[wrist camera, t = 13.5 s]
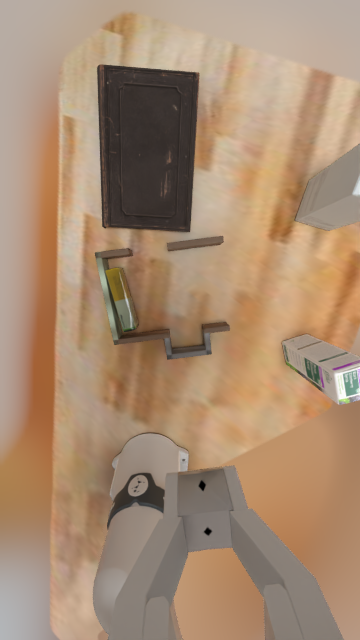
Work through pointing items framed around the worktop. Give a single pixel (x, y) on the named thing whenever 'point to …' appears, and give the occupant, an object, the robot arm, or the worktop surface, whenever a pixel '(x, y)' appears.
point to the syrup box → (325, 367)
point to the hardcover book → (147, 146)
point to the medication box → (122, 299)
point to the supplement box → (333, 194)
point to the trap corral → (160, 334)
